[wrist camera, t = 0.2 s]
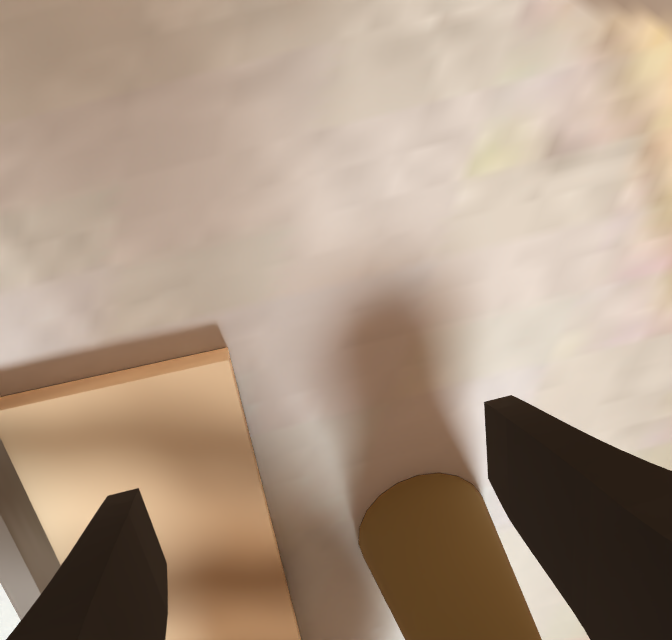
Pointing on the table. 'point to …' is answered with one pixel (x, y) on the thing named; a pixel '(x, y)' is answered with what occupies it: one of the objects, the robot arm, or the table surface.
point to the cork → (443, 563)
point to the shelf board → (147, 491)
